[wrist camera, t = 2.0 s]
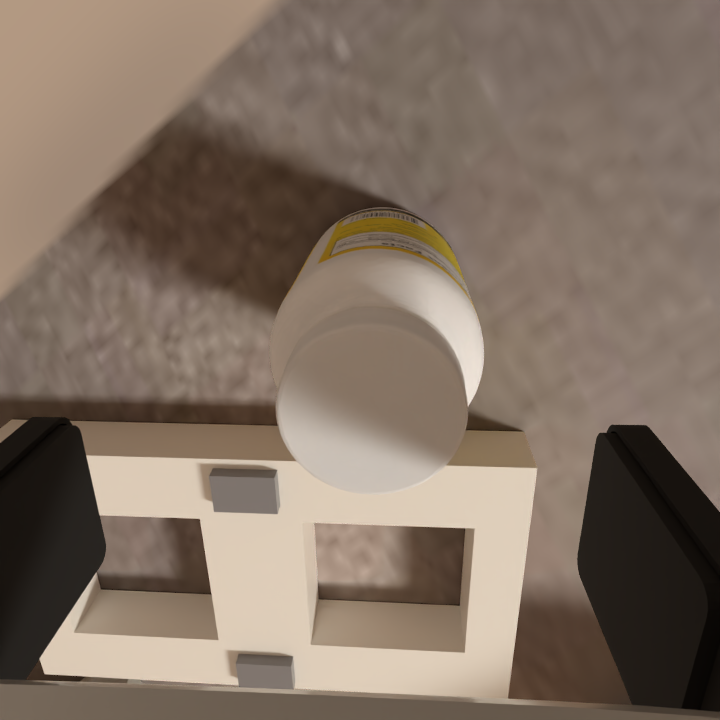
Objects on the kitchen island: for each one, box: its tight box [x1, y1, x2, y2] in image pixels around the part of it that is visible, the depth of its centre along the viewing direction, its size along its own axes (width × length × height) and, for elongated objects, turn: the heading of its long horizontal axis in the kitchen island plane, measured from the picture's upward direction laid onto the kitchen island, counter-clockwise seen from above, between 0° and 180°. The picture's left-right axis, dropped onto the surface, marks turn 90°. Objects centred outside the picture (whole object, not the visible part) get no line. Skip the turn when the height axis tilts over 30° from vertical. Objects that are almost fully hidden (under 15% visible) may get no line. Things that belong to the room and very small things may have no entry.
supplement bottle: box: [269, 207, 484, 495], centre depth 16 cm, size 5×5×10 cm
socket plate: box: [0, 419, 537, 699], centre depth 25 cm, size 12×21×3 cm, turn 91°
